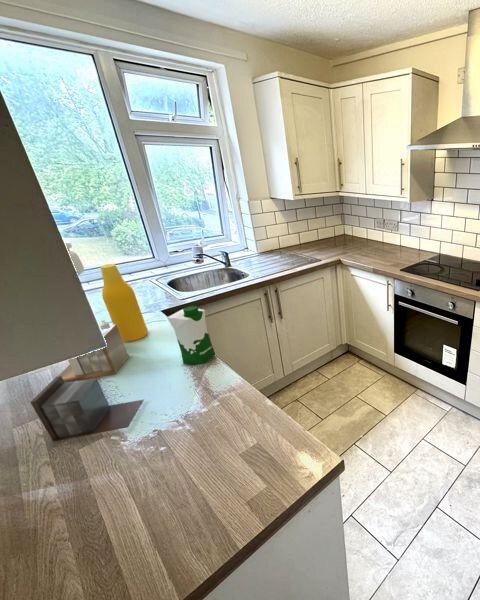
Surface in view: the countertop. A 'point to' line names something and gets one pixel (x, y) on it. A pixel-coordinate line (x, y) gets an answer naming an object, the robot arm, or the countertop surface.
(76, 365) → the white book
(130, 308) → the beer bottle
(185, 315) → the milk carton
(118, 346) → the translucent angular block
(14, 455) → the countertop surface
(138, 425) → the countertop surface
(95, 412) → the grey book rack
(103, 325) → the eye dropper bottle
